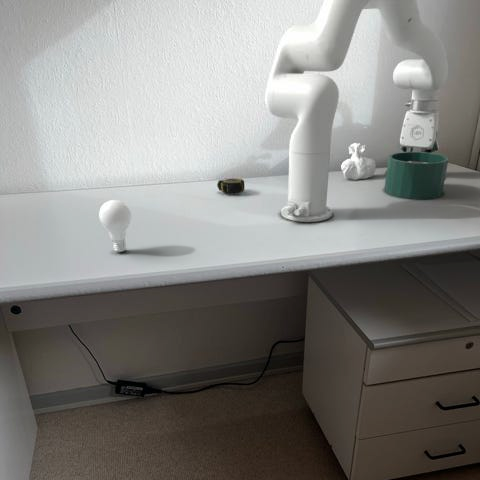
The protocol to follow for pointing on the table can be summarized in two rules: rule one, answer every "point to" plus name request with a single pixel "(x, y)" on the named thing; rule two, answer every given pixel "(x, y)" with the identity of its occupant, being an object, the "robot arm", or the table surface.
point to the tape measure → (231, 186)
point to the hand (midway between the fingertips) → (414, 169)
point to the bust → (358, 164)
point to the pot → (415, 175)
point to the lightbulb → (116, 222)
